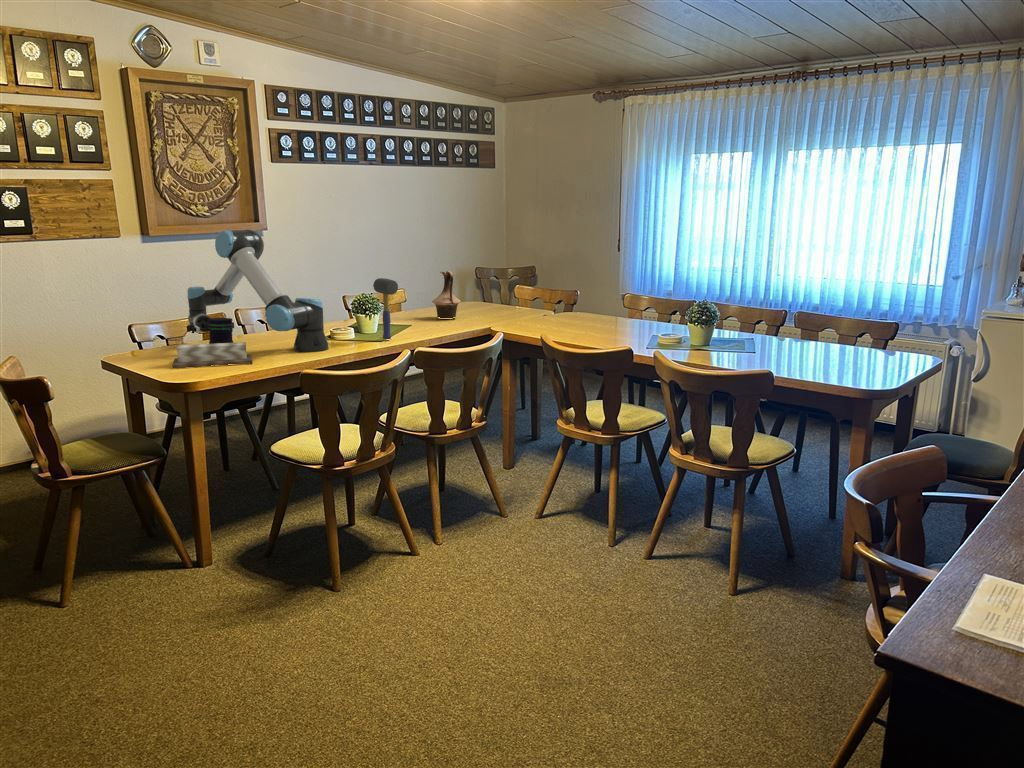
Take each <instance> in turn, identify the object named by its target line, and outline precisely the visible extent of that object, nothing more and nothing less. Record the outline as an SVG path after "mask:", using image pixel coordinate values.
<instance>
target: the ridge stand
mask: <svg viewBox="0 0 1024 768" xmlns="http://www.w3.org/2000/svg"><path fill="white" fill-rule="evenodd" d="M176 353H177V357H175V358H174V359H173V362H172V364H171V365H172V366H171V368H177V369H186V368H185V367H194V368H200V367H199V366H211V365H228V364H246V365H250V364H249V363H253V356H252V354H251V353H250V354H249V353H247V342H245V341H243V342H242V341H240V342H239V341H238V342H233V343H216V344H209V343H200V344H178V345H176ZM228 366H229V365H228ZM211 367H212V366H211Z"/></svg>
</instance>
